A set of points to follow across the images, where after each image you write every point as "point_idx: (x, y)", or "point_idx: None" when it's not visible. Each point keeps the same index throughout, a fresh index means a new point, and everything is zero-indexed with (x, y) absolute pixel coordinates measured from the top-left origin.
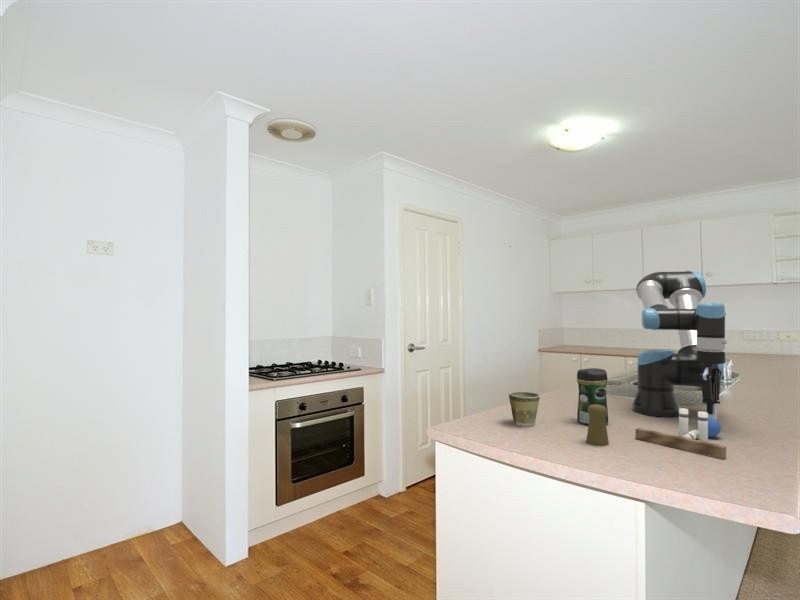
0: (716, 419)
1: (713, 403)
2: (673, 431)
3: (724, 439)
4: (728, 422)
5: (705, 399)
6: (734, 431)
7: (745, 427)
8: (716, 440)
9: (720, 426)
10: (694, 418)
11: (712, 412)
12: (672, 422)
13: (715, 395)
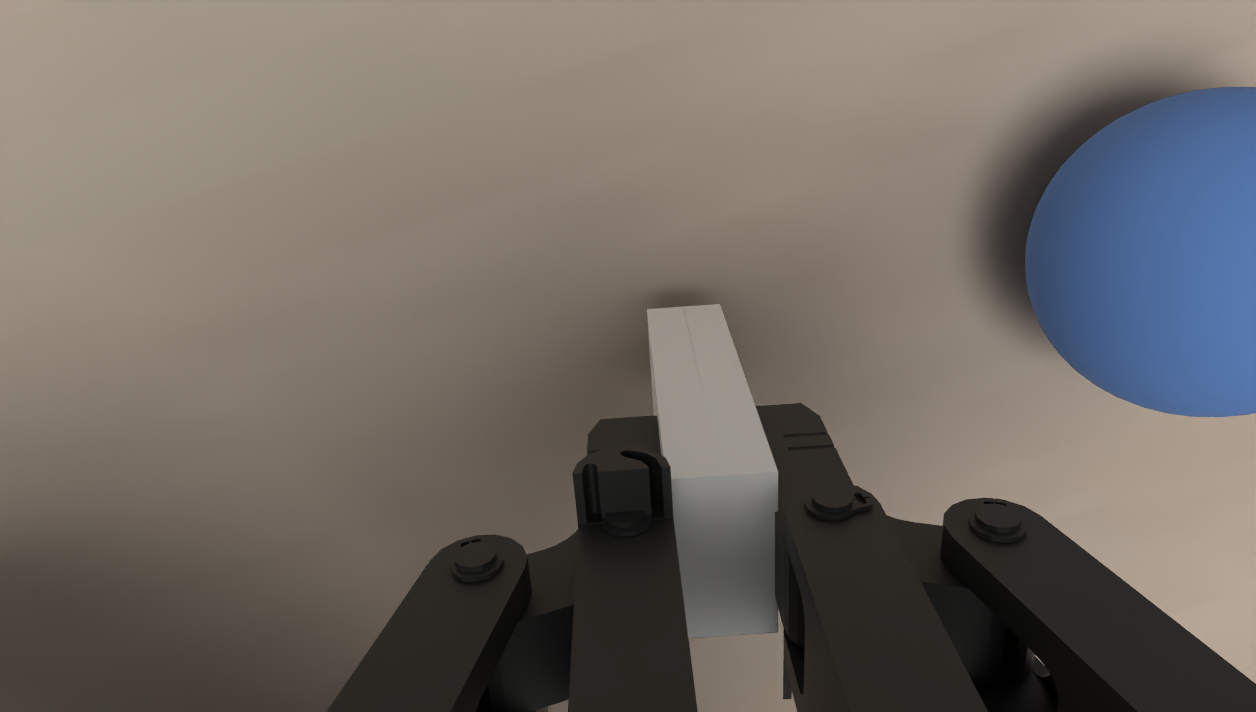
0: (669, 337)
1: (869, 498)
2: (1139, 545)
3: (1108, 32)
4: (33, 341)
5: (1035, 658)
6: (501, 105)
7: (86, 87)
8: (1244, 83)
9: (1229, 103)
10: (263, 646)
11: (779, 421)
12: (706, 698)
13: (688, 640)
